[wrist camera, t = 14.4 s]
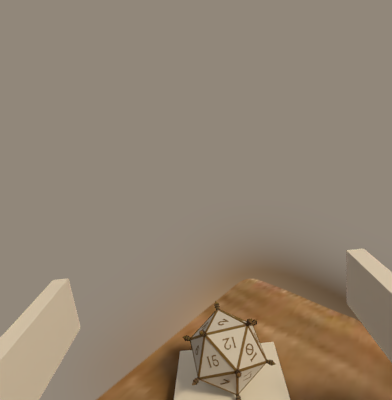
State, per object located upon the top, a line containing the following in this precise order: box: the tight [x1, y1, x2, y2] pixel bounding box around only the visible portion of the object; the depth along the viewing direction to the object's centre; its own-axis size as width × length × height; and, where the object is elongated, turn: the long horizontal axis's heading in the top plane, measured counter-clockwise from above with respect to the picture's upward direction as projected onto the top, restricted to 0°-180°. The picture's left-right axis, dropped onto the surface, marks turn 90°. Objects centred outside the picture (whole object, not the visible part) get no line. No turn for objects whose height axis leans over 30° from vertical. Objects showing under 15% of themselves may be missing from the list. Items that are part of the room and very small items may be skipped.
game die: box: [183, 301, 275, 400], centre depth 33 cm, size 9×8×10 cm
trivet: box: [174, 342, 290, 400], centre depth 34 cm, size 12×12×2 cm
